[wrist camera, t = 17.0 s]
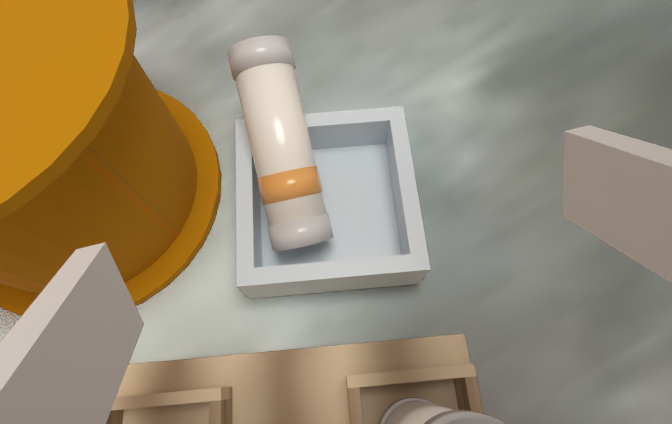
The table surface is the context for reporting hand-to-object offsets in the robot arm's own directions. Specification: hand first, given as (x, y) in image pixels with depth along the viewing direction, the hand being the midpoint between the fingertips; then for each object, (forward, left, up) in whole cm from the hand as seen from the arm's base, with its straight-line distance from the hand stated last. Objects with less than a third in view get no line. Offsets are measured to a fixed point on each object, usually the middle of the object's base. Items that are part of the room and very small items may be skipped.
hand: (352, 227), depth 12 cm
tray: (+1, -7, -16) cm, 18 cm away
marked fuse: (+2, -4, -14) cm, 14 cm away
